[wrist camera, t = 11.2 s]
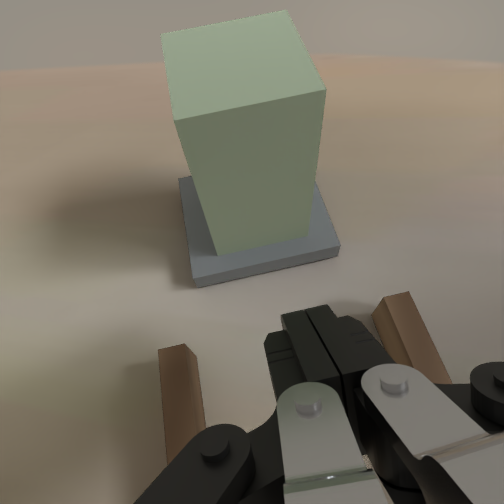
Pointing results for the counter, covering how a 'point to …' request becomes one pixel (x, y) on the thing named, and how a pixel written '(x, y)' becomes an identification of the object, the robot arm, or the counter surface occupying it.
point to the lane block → (248, 147)
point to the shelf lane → (390, 331)
